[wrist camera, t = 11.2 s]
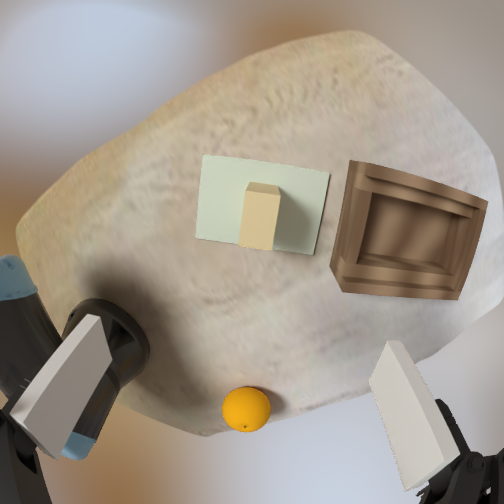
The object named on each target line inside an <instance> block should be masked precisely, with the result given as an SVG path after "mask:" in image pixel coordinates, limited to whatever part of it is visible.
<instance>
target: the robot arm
mask: <svg viewBox="0 0 504 504" xmlns="http://www.w3.org/2000/svg"><path fill="white" fill-rule="evenodd" d="M37 291H38V289H37V286H35V285H34V284H33V281H32V279H31V277H30V275H29V273H28V271H27V269H26V266H25V264H24V262H23V261H22V260H21V259H20V258H19V257H18V256H15V255H5V256H2V257H0V390H1V391H2V392H3V393H4V394H5V396H6V397H7V398H8V399H9V400H8V402H7V403H6V404H5V406H4V407H3V409H1V410H0V504H52V502H51V500H50V496H49V493H48V490H47V487H46V484H45V480H44V477H43V473H42V470H41V467H40V462H39V458H38V454H37V452H36V450H35V449H36V447H37V446H38V447H39V448H40V449H41V450H42V451H43V453H45V454H47V455H49V456H51V457H52V458H54V459H56V460H58V458H59V456H60V454H61V455H63V456H65V457H67V458H70V459H74V460H82V459H84V458H86V457H87V455H88V453H89V451H90V450H91V448H92V446H93V445H94V443H96V441H97V438H98V436H99V434H100V431H101V429H102V427H103V424H104V423H105V420H106V418H107V416H108V414H109V412H110V410H111V408H112V405H113V403H114V401H115V399H116V397H117V395H118V393H119V391H120V390H121V388H123V387H124V386H125V385H126V384H128V383H129V382H130V381H131V380H132V379H133V378H134V377H136V376H137V375H138V374H140V373H141V372H142V370H143V369H144V367H145V365H146V363H147V361H148V359H149V354H150V349H149V344H148V341H147V338H146V336H145V334H144V333H143V331H142V329H141V328H140V327H139V325H138V324H137V323H136V322H135V321H134V319H133V318H132V317H130V316H129V315H128V314H127V313H126V312H125V311H123V310H122V309H120V308H119V307H117V306H116V305H114V304H112V303H110V302H107V301H104V300H100V299H87V300H84V301H82V302H80V303H79V304H78V305H77V306H76V307H75V308H74V309H73V310H72V312H71V313H70V315H69V318H68V321H67V323H66V326H65V328H64V331H63V334H62V337H60V335H59V333H58V332H57V330H56V328H55V326H54V324H53V323H52V321H51V319H50V317H49V315H48V313H47V311H46V309H45V307H44V305H43V303H42V301H41V299H40V297H39V294H38V292H37ZM368 382H369V385H370V388H371V390H372V393H373V396H374V398H375V401H376V404H377V407H378V410H379V412H380V415H381V418H382V420H383V424H384V427H385V430H386V433H387V436H388V439H389V442H390V445H391V447H392V451H393V454H394V457H395V460H396V464H397V467H398V471H399V473H400V477H401V481H402V484H403V488H404V491H408V490H411V489H414V488H417V487H419V486H421V485H422V484H424V483H425V482H427V481H429V485H428V486H426V487H425V488H424V489H422V490H421V491H419V492H418V494H417V495H416V496H419V495H421V494H423V493H424V494H423V495H422V496H421V501H420V503H419V504H504V448H503V449H502V450H501V451H500V452H499V453H498V454H497V455H492V456H485V457H483V456H482V454H480V453H478V452H471V451H470V449H469V447H468V446H467V443H466V441H465V439H464V437H463V435H462V433H461V431H460V429H459V427H458V425H457V424H456V421H455V419H454V417H452V413H451V411H450V409H449V407H448V406H447V405H446V404H445V403H444V402H443V401H442V400H441V399H436V400H434V398H433V396H432V395H431V393H430V391H429V389H428V387H427V385H426V383H425V382H424V380H423V378H422V376H421V375H420V373H419V371H418V369H417V367H416V366H415V364H414V362H413V361H412V359H411V357H410V355H409V354H408V352H407V350H406V349H405V347H404V345H403V344H402V342H401V341H400V340H396V341H387V342H386V344H385V347H384V349H383V351H382V354H381V356H380V358H379V360H378V362H377V365H376V367H375V369H374V371H373V373H372V375H371V377H370V379H369V381H368ZM490 487H491V492H490V493H489V494H487V493H486V490H487V489H489V488H490Z"/></svg>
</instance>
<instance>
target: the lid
mask: <svg viewBox="0 0 504 504" xmlns="http://www.w3.org/2000/svg"><path fill="white" fill-rule="evenodd" d="M329 174H330V173H327V172H323V171H317V170H312V169H307V168H302V167H296V166H290V165H284V164H278V163H271V162H265V161H258V160H250V159H243V158H234V157H226V156H216V155H206V154H203V160H202V169H201V178H200V188H199V199H198V210H197V223H196V237H195V238H198V239H205V240H212V241H219V242H226V243H233V244H238V246H241V247H248V248H255V249H262V250H269V251H272V249H274V250H281V251H288V252H295V253H302V254H308V255H313V253H314V248H315V244H316V239H317V235H318V230H319V225H320V221H321V216H322V211H323V206H324V201H325V196H326V190H327V185H328V179H329Z"/></svg>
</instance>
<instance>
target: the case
mask: <svg viewBox="0 0 504 504" xmlns="http://www.w3.org/2000/svg"><path fill="white" fill-rule="evenodd" d="M487 205H488V201H486V200H484V199H481V198H479V197H476V196H474V195H471V194H469V193H466V192H463V191H461V190H458V189H455V188H452V187H450V186H447V185H444V184H441V183H438V182H435V181H432V180H429V179H426V178H422V177H419V176H416V175H412V174H409V173H406V172H402V171H398V170H395V169H391V168H387V167H383V166H379V165H375V164H371V163H366V162H359V161H353V160H350V162H349V168H348V175H347V181H346V187H345V193H344V198H343V204H342V209H341V215H340V220H339V225H338V230H337V234H336V239H335V244H334V248H333V253H332V257H331V262H330V268H331V270H332V272H333V274H334V276H335V278H336V280H337V282H338V284H339V286H340V288H341V290H342V292H347V293H358V294H370V295H382V296H395V297H409V298H425V299H442V300H458V298H459V296H460V293H461V291H462V288H463V286H464V283H465V281H466V278H467V275H468V272H469V270H470V267H471V264H472V261H473V258H474V255H475V251H476V248H477V245H478V241H479V238H480V234H481V230H482V226H483V222H484V218H485V214H486V209H487Z"/></svg>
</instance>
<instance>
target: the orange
mask: <svg viewBox="0 0 504 504" xmlns="http://www.w3.org/2000/svg"><path fill="white" fill-rule="evenodd" d="M270 413H271V405H270V402H269V400H268V398H267V396H266V395H265V394H264V393H262V392H261V391H259V390H257V389H255V388H250V387H242V388H238V389H235V390H233V391H231V392H230V393H229V394H228V395H227V396H226V397H225V399H224V402H223V404H222V414H223V418H224V420H225V421H226V423H227V424H228V425H229V426H230V427H232V428H233V429H235V430H238V431H240V432H252V431H256V430H258V429H260V428H261V427H262V426H264V425H265V424H266V422H267V421H268V419H269V417H270Z"/></svg>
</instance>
